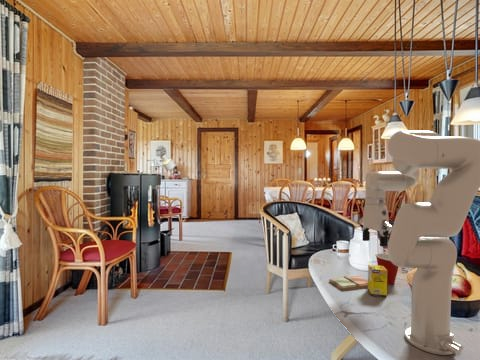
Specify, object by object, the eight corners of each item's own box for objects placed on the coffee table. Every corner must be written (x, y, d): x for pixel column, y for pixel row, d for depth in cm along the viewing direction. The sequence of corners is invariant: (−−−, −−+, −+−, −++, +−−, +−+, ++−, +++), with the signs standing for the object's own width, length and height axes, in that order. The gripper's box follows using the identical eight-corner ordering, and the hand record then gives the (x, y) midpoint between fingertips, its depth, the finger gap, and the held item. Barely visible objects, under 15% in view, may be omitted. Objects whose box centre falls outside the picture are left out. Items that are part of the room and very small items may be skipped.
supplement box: (387, 297, 113) (387, 270, 113) (371, 296, 114) (371, 269, 114) (382, 291, 119) (383, 265, 119) (367, 290, 120) (368, 264, 120)
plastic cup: (406, 287, 124) (407, 259, 123) (382, 286, 124) (382, 259, 123) (393, 277, 135) (393, 252, 134) (370, 277, 135) (371, 252, 134)
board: (374, 286, 124) (374, 282, 124) (342, 290, 119) (343, 286, 119) (358, 278, 133) (359, 274, 133) (329, 281, 129) (329, 277, 129)
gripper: (399, 204, 110) (398, 247, 110) (367, 200, 126) (366, 238, 127) (384, 204, 108) (383, 249, 108) (353, 200, 124) (352, 239, 125)
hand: (374, 243), depth 117 cm, fingers open, 9 cm apart
